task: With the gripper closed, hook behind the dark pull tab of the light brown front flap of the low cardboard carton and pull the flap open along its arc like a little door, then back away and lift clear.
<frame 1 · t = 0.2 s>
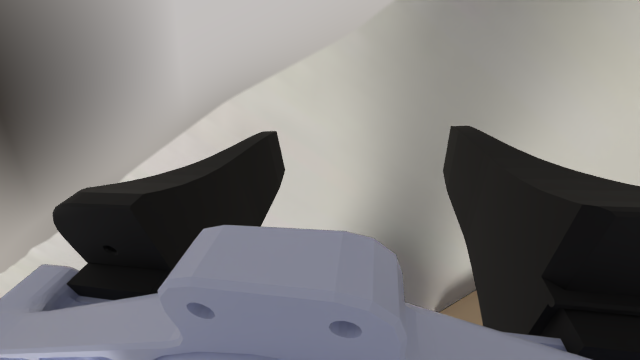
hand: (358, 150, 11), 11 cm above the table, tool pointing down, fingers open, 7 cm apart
carton: (529, 316, 27), on the table
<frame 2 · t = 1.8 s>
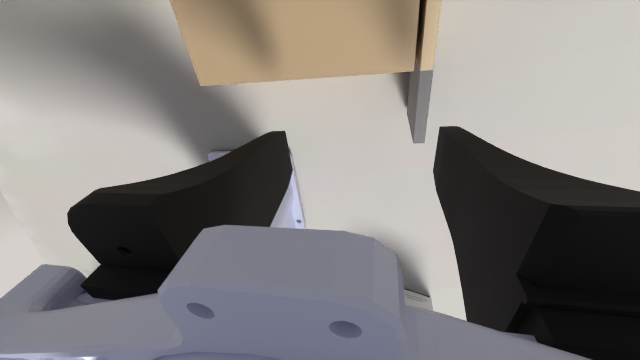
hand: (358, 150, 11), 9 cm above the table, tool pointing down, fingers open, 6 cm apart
ink box: (397, 306, 34), on the table
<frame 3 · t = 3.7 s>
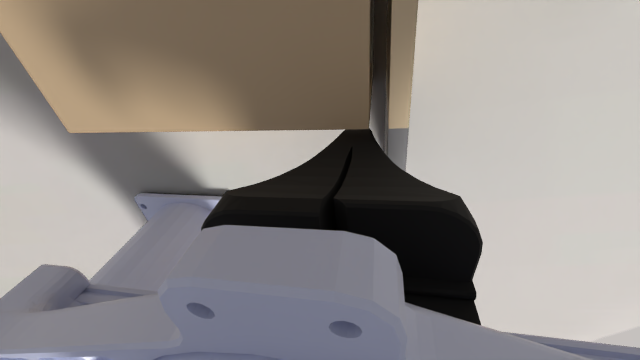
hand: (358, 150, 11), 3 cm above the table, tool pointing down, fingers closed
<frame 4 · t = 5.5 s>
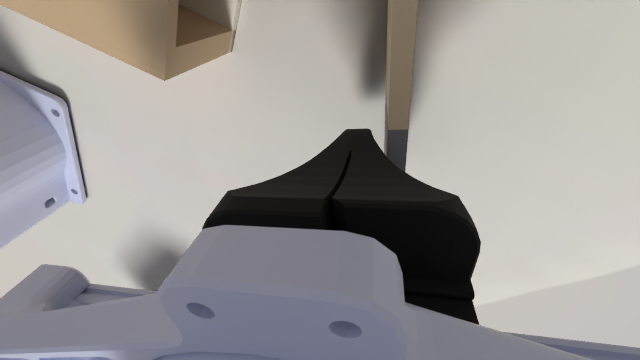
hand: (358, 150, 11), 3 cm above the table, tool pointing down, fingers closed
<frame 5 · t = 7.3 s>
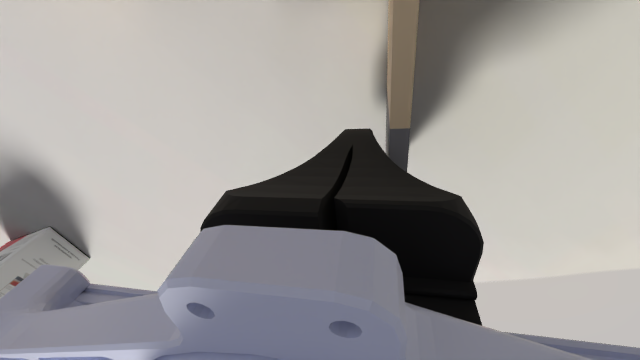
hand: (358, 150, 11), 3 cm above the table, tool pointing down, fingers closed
ink box: (52, 247, 28), on the table
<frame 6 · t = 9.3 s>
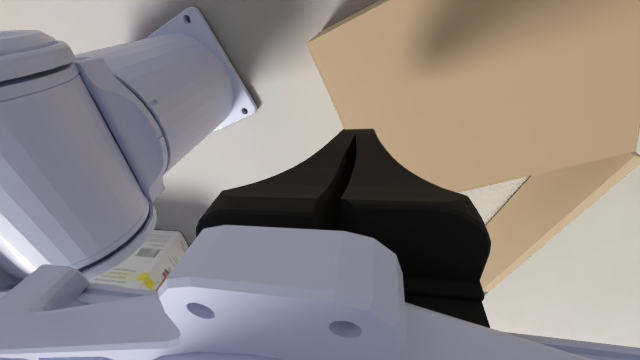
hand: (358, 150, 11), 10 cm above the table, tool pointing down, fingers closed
carton flap: (512, 233, 22), point 3 cm above the table, hinge at 50.6°
ink box: (160, 240, 35), on the table
carton: (451, 73, 18), on the table
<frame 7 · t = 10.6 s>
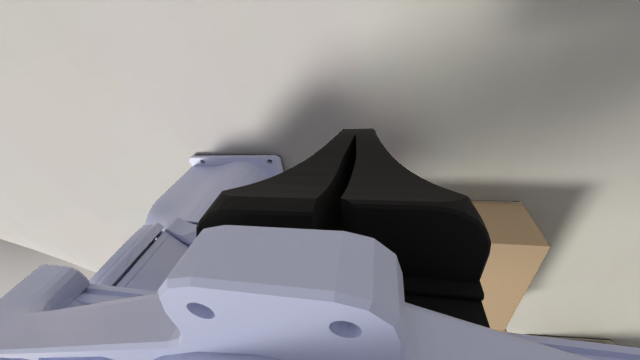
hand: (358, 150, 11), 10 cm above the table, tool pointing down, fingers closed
carton flap: (431, 335, 33), point 3 cm above the table, hinge at 50.6°
carton: (427, 244, 28), on the table
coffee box: (559, 346, 35), on the table
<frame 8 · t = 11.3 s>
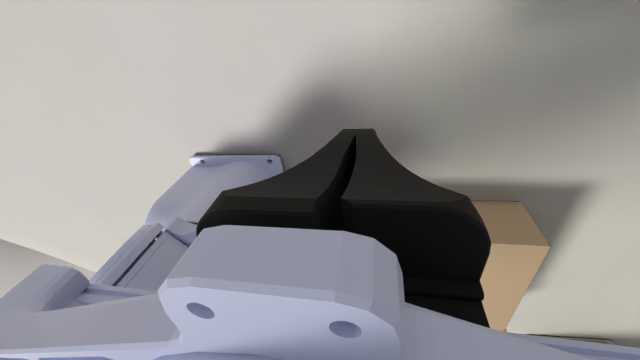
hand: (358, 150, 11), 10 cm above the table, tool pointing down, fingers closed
carton flap: (431, 335, 33), point 3 cm above the table, hinge at 50.6°
carton: (427, 244, 28), on the table
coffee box: (559, 346, 35), on the table
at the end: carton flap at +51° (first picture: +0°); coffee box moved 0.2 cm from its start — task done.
